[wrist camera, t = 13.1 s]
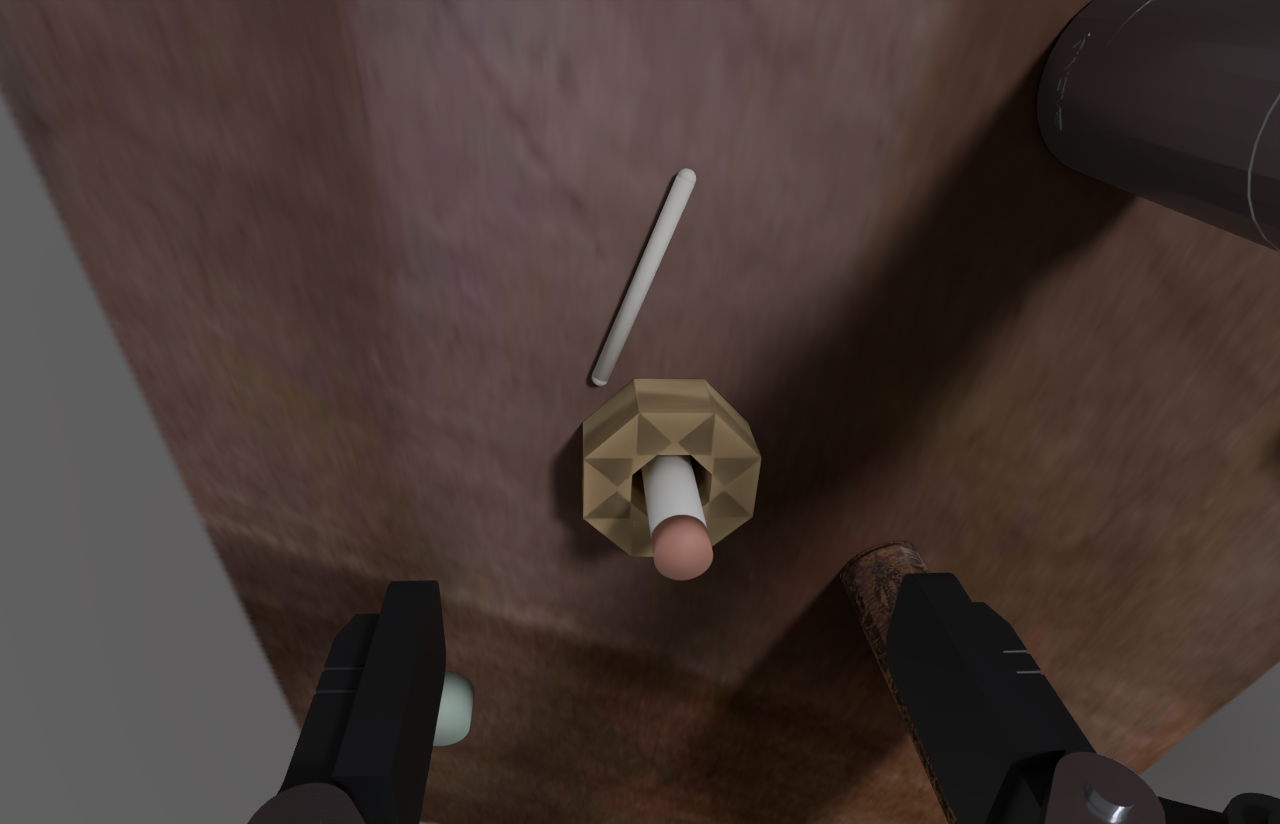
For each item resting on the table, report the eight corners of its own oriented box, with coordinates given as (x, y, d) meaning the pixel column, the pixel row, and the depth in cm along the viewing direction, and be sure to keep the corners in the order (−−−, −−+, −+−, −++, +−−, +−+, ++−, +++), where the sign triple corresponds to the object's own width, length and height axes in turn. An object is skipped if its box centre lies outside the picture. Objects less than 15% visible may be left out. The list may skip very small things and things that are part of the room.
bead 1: (472, 669, 56) (468, 703, 53) (475, 710, 58) (471, 745, 55) (410, 670, 55) (402, 705, 53) (416, 712, 58) (408, 746, 55)
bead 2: (753, 379, 46) (768, 412, 42) (735, 515, 51) (747, 555, 47) (583, 378, 45) (584, 412, 41) (581, 516, 50) (582, 557, 46)
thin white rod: (680, 163, 39) (682, 167, 38) (697, 170, 39) (700, 175, 38) (588, 377, 45) (589, 385, 44) (605, 383, 45) (605, 391, 44)
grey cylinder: (689, 430, 47) (715, 533, 38) (685, 470, 48) (710, 579, 40) (640, 430, 47) (655, 534, 38) (638, 471, 48) (652, 580, 40)
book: (832, 565, 53) (1010, 970, 32) (906, 531, 52) (1142, 926, 31) (908, 699, 61) (1093, 1098, 39) (974, 671, 60) (1201, 1066, 38)
